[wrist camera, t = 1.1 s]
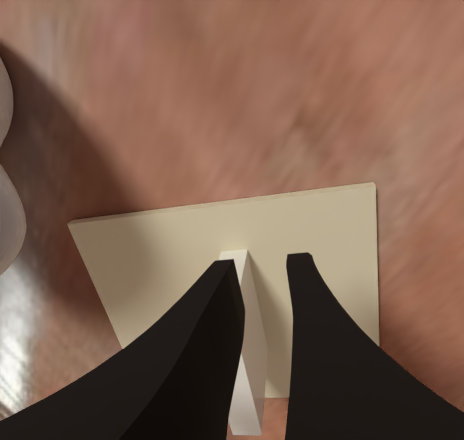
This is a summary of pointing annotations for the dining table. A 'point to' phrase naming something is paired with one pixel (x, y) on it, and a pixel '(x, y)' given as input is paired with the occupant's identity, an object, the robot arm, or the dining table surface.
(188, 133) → the dining table surface
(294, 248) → the mat
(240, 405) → the tile
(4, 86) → the mug
